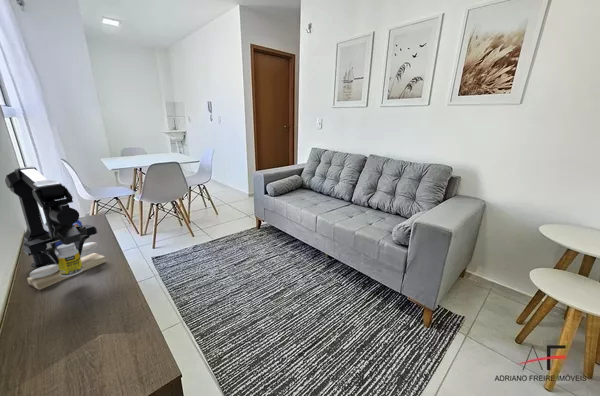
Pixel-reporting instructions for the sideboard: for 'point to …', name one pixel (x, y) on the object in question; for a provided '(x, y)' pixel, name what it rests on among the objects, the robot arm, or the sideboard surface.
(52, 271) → the balance
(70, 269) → the pill bottle
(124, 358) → the sideboard surface
